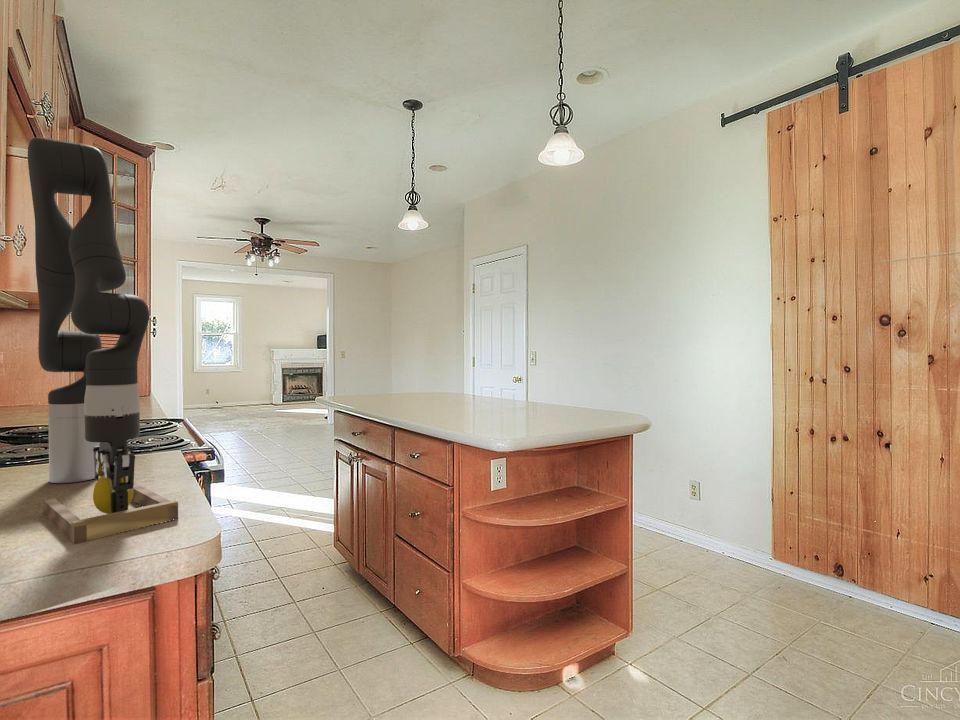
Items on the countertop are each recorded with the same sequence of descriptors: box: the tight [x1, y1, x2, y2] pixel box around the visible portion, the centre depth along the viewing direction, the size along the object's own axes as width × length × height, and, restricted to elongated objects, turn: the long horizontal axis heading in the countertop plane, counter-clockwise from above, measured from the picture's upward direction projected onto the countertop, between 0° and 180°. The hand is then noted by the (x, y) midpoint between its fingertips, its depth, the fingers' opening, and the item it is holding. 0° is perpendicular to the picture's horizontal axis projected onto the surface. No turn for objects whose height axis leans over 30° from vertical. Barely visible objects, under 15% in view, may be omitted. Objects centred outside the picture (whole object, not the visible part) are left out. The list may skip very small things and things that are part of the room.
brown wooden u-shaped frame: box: [41, 483, 179, 544], centre depth 86 cm, size 22×14×3 cm, turn 51°
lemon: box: [92, 472, 134, 514], centre depth 84 cm, size 6×6×8 cm
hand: (113, 510), depth 84 cm, fingers closed on lemon, 5 cm apart
